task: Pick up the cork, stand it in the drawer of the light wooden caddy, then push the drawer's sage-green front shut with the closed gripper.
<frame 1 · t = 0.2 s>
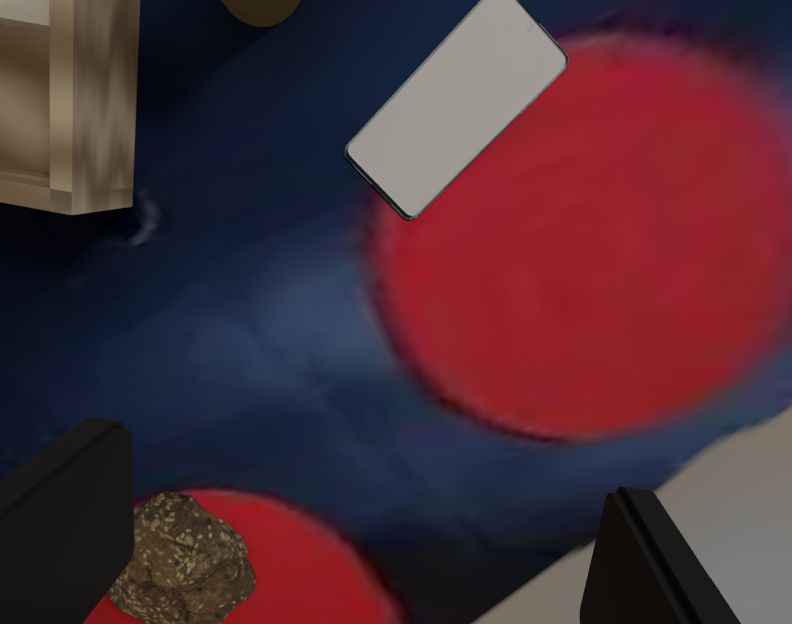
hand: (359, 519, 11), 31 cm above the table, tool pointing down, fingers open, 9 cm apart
smartphone: (452, 109, 38), on the table
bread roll: (188, 557, 49), on the table
caddy: (26, 50, 39), on the table
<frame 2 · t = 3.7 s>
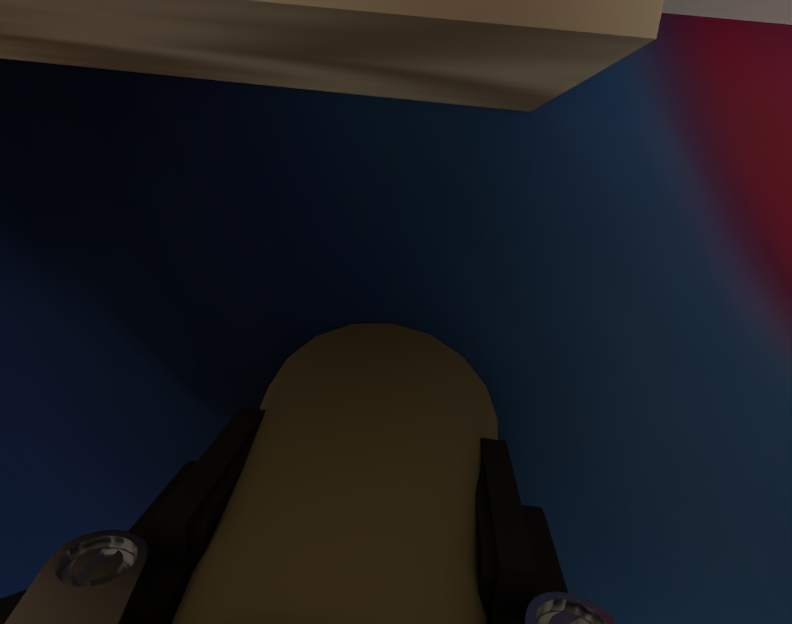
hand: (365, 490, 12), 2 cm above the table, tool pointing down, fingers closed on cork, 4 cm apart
cork: (378, 433, 14), on the table, touching gripper
when the fingers open (5 cm above the table, at t = 9.5 s): cork drops 1 cm, resting on drawer.
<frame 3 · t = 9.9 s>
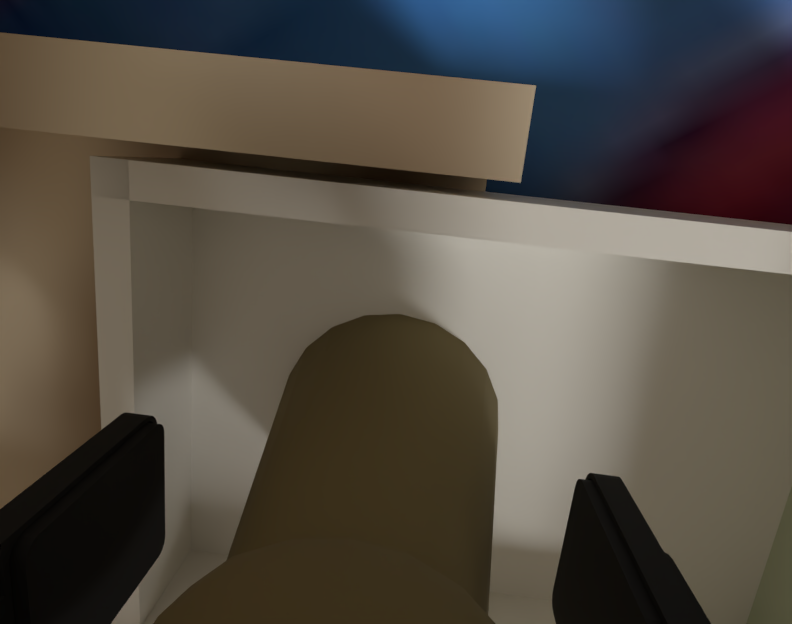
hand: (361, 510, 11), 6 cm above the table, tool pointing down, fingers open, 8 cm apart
cork: (389, 415, 16), point 2 cm above the table, touching drawer
drawer: (501, 477, 13), point 4 cm above the table, slide at 8.9 cm, touching cork
caddy: (153, 357, 17), on the table
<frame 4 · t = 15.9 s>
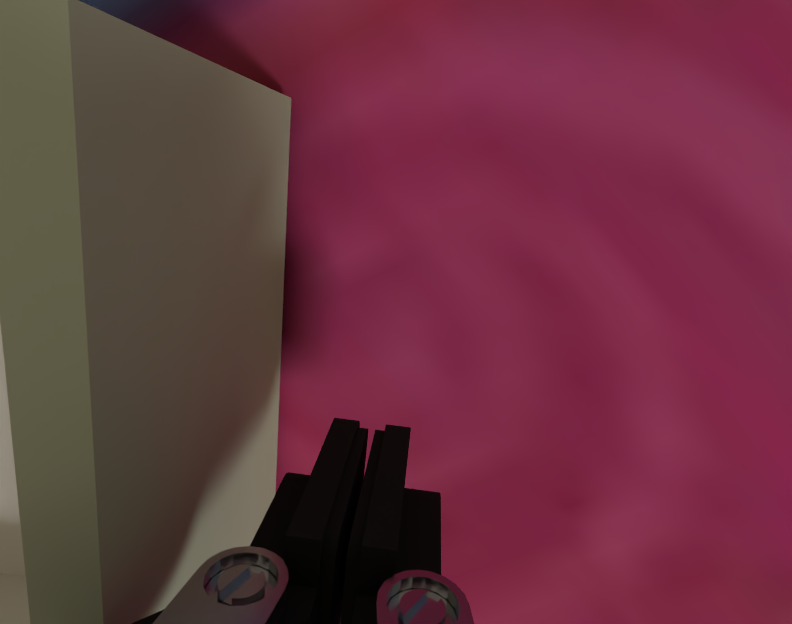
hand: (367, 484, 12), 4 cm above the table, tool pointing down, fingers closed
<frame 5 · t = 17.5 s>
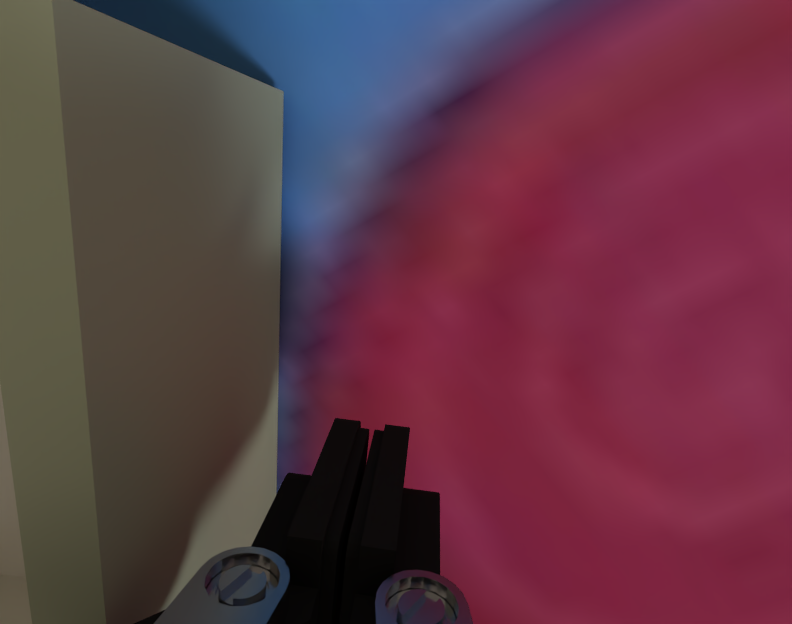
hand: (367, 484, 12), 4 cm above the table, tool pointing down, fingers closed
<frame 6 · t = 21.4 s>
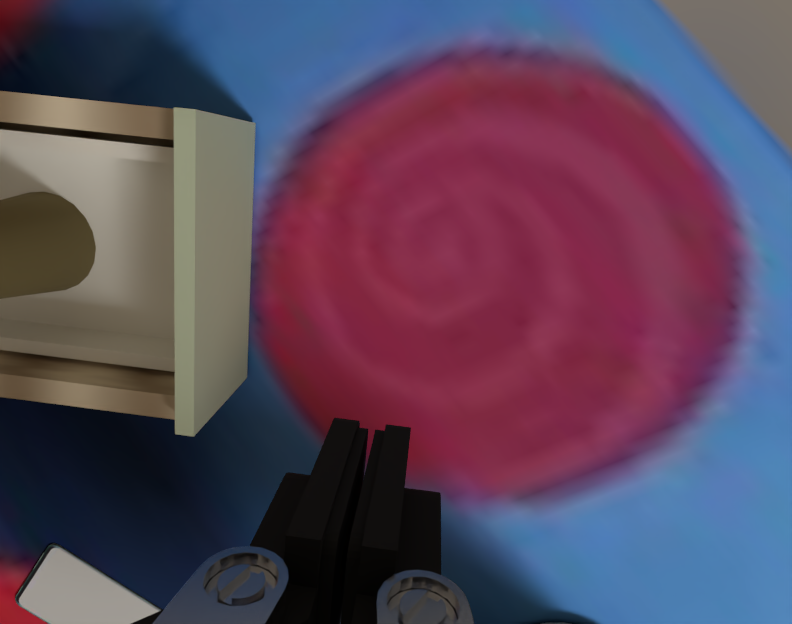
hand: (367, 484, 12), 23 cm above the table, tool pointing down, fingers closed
cork: (49, 241, 34), point 2 cm above the table, touching drawer
smartphone: (120, 616, 43), on the table
drawer: (64, 251, 31), point 4 cm above the table, slide at 0.0 cm, touching cork
caddy: (85, 238, 35), on the table
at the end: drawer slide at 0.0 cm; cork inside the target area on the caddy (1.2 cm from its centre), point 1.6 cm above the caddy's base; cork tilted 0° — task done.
